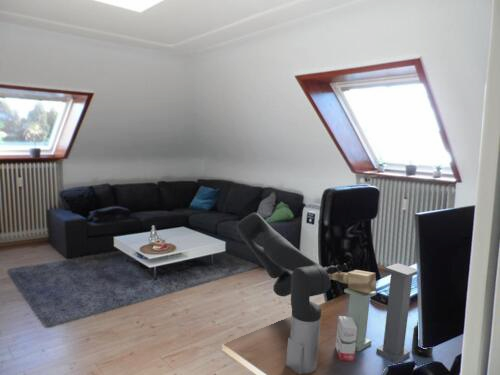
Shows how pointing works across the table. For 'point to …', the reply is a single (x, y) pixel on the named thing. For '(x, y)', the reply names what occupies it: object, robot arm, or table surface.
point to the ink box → (346, 338)
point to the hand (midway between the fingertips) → (341, 267)
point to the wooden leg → (357, 280)
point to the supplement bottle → (416, 348)
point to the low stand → (359, 315)
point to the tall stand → (397, 312)
